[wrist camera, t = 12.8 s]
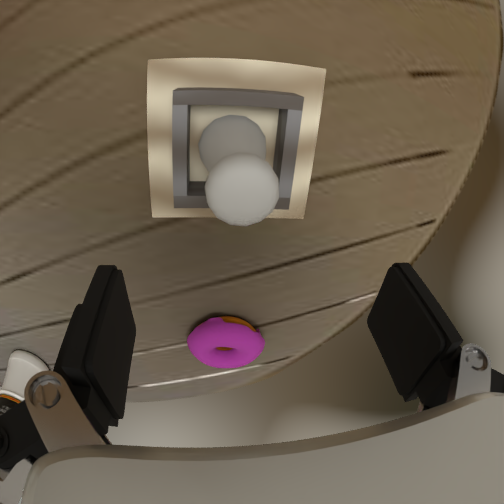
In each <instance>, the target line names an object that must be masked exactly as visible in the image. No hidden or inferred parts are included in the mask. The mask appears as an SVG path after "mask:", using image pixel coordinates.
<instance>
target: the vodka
mask: <svg viewBox="0 0 504 504" xmlns="http://www.w3.org/2000/svg"><path fill="white" fill-rule="evenodd" d="M41 371H49V369H48V367H47V366H46V365H45V363H44V362H43V361H42V360H41V359H39V358H38V357H37V356H35V355H33V354H32V353H29V352H27V351H22V350H16V351H14V352H13V353H12V354H11V355H10V358H9V364H8V368H7V372H6V375H5V379H4V383H3V385H2V388H1V390H0V415H2V414H3V413H5V412H6V411H8V410H9V409H11V408H12V407H14V406H15V405H17V404H18V403H20V402H21V401H23V400H25V398H24V390H25V387H26V384H27V382H28V381H29V380H30V378H31V377H32V376H34V375H35V374H36V373H39V372H41Z"/></svg>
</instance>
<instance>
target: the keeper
mask: <svg viewBox="0 0 504 504" xmlns="http://www.w3.org/2000/svg"><path fill="white" fill-rule="evenodd" d="M325 75H326V69H322V68H316V67H310V66H303V65H296V64H289V63H280V62H271V61H260V60H247V59H229V58H170V59H152V60H148V73H147V134H148V161H149V180H150V195H151V208H152V217H216V216H215V214H214V213H213V212H212V210H211V209H210V207H209V206H208V203H207V199H206V193H205V183H206V180H207V177H208V175H209V172H208V170H207V168H206V167H205V165H204V163H203V162H202V160H201V159H200V153H199V146H198V143H199V141H200V138H201V135H202V133H203V130H204V129H205V128H206V127H207V126H208V125H209V124H210V123H211V122H212V121H213V120H214V119H217V118H220V117H223V116H227V115H239V116H246V117H247V118H249V119H250V120H252V121H253V122H255V123H256V124H258V125H259V127H260V129H261V130H262V132H263V134H264V135H265V137H266V159H265V161H267V162H268V163H269V164H270V166H271V167H272V169H273V171H274V172H275V174H276V176H277V177H278V182H279V199H278V201H277V203H276V206H275V208H274V210H273V212H272V213H270V214H269V215H268V216H267V217H266V218H289V219H303V218H304V213H305V207H306V202H307V196H308V190H309V184H310V178H311V172H312V166H313V160H314V153H315V147H316V140H317V133H318V127H319V120H320V113H321V106H322V98H323V91H324V83H325Z"/></svg>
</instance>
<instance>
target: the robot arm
mask: <svg viewBox="0 0 504 504" xmlns="http://www.w3.org/2000/svg"><path fill="white" fill-rule="evenodd" d="M367 324H368V327H369V329H370V331H371V333H372V336H373V338H374V339H375V342H376V344H377V346H378V348H379V350H380V353H381V354H382V357H383V359H384V361H385V363H386V366H387V368H388V370H389V372H390V375H391V377H392V379H393V381H394V384H395V386H396V388H397V391H398V393H399V394H400V395H402V396H403V398H404V401H405V402H407V401H411V400H414V399H416V398H417V397H419V398H420V403H419V407H418V410H417V413H415V414H412V415H409V416H406V417H402V418H399V419H395V420H392V421H388V422H385V423H381V424H377V425H373V426H370V427H365V428H361V429H357V430H352V431H348V432H343V433H338V434H333V435H328V436H323V437H316V438H310V439H304V440H297V441H290V442H282V443H273V444H263V445H251V446H239V447H213V448H169V447H166V448H165V447H145V446H126V445H112V443H111V442H110V441H109V439H108V438H107V436H106V435H105V434H107V433H108V426H116V427H117V426H118V419H122V418H123V416H124V410H125V402H126V394H127V386H128V379H129V373H130V366H131V360H132V354H133V348H134V342H135V336H136V326H135V322H134V318H133V315H132V311H131V307H130V303H129V299H128V295H127V290H126V286H125V282H124V277H123V273H122V270H117V267H116V266H115V265H99V266H98V267H97V269H96V272H95V274H94V277H93V279H92V281H91V284H90V286H89V289H88V291H87V294H86V296H85V299H84V301H83V304H78V305H77V306H76V308H75V310H74V312H73V315H72V317H71V320H70V323H69V325H68V328H67V331H66V334H65V337H64V339H63V342H62V345H61V348H60V351H59V354H58V357H57V360H56V363H55V367H54V370H53V371H50V370H49V371H41V372H39V373H36V374H35V375H34V376H32V377H31V378H30V380H29V381H28V382H27V384H26V387H25V390H24V398H25V400H23V401H21V402H20V403H18V404H17V405H15V406H14V407H12V408H11V409H9V410H8V411H6V412H5V413H3V414H2V415H0V504H18V503H19V501H20V498H21V497H22V502H21V504H504V375H503V374H501V373H499V372H497V371H496V370H494V369H492V368H491V360H490V358H489V356H488V354H487V353H486V351H485V350H484V349H483V348H481V347H480V346H478V345H476V344H467V345H465V346H464V347H463V348H461V347H460V344H461V343H462V342H463V339H462V338H461V336H460V335H459V333H458V331H457V330H456V328H455V327H454V325H453V324H452V322H451V321H450V319H449V318H448V316H447V315H446V313H445V312H444V310H443V309H442V307H441V306H440V305H439V303H438V302H437V300H436V299H435V297H434V296H433V295H432V293H431V292H430V290H429V289H428V288H427V286H426V285H425V284H424V282H423V281H422V279H421V278H420V277H419V276H418V274H417V273H416V271H415V270H414V269H413V268H412V266H411V265H410V264H409V263H394V264H393V265H392V267H390V268H389V269H388V271H387V274H386V276H385V279H384V281H383V284H382V286H381V288H380V291H379V293H378V296H377V298H376V300H375V303H374V305H373V307H372V309H371V312H370V314H369V316H368V319H367ZM23 489H24V490H23Z"/></svg>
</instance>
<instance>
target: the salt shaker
mask: <svg viewBox="0 0 504 504" xmlns="http://www.w3.org/2000/svg"><path fill="white" fill-rule="evenodd" d="M198 146H199V153H200V159H201V160H202V162H203V163H204V165H205V167H206V168H207V170H208V172H209V175H208V177H207V180H206V183H205V193H206V199H207V203H208V206H209V207H210V209H211V210H212V212H213V213H214V214H215V216H216V217H217V218H218V219H220V220H222V221H224V222H226V223H228V224H230V225H237V226H249V225H252V224H255V223H258V222H261V221H262V220H263V219H264V218H266V217H267V216H268V215H269V214H270V213H272V212H273V210H274V208H275V206H276V203H277V201H278V199H279V182H278V177H277V176H276V174H275V172H274V171H273V169H272V167H271V166H270V164H269V163H268V162H267V161H265V159H266V137H265V135H264V134H263V132H262V130H261V129H260V127H259V125H258V124H256V123H255V122H253V121H252V120H250V119H249V118H247V117H246V116H239V115H227V116H223V117H220V118H217V119H214V120H213V121H212V122H211V123H210V124H209V125H208V126H207V127H206V128H205V129H204V130H203V133H202V135H201V138H200V141H199V143H198Z"/></svg>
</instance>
